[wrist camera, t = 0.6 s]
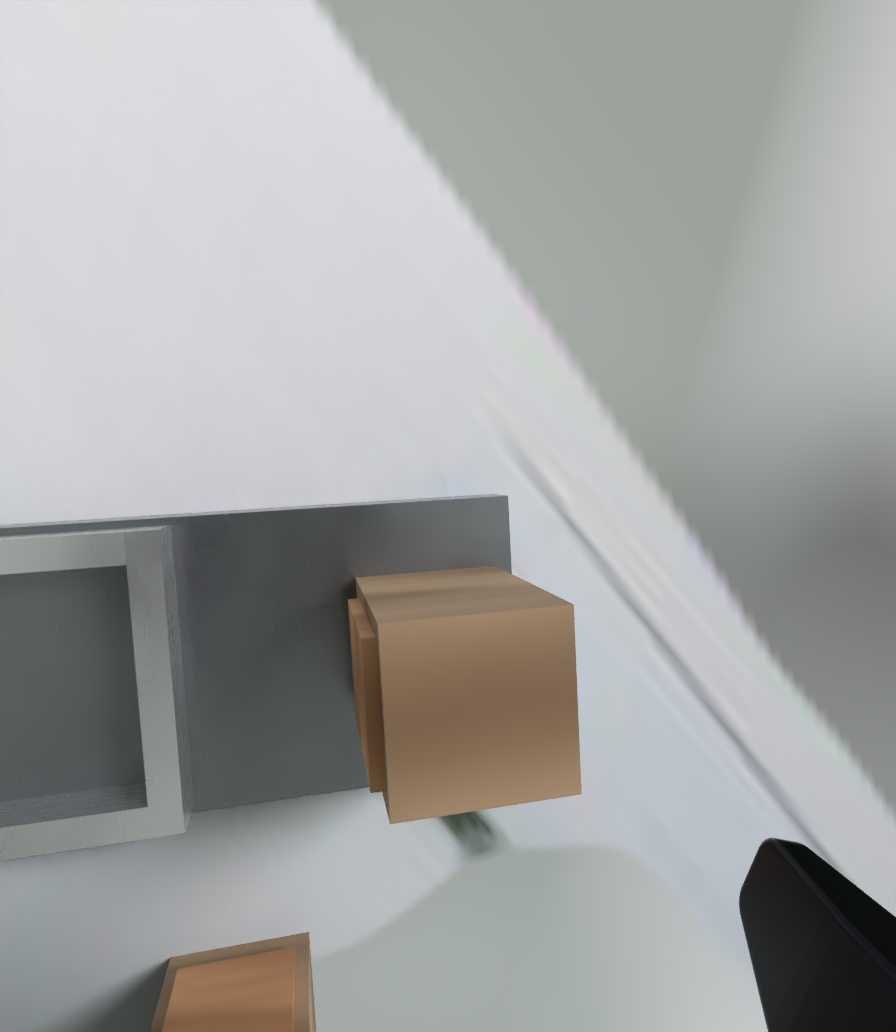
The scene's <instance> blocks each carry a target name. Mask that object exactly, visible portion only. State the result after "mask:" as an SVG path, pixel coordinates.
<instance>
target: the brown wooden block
mask: <svg viewBox="0 0 896 1032" xmlns="http://www.w3.org/2000/svg"><path fill="white" fill-rule="evenodd" d="M356 593H357V599H348V611H349V627H350V642H351V658H352V673H353V688H354V704H355V718H356V723H357V728H358V733H359V738H360V743H361V747H362V752H363V757H364V762H365V767H366V772H367V777H368V782H369V786H370V791H371V793H374V792H380V791H382V792H383V797H384V801H385V805H386V809H387V813H388V817H389V821H390V824H394V823H401V822H407V821H414V820H420V819H426V818H433V817H439V816H445V815H452V814H458V813H465V812H471V811H477V810H484V809H490V808H496V807H503V806H509V805H516V804H522V803H528V802H535V801H541V800H547V799H554V798H560V797H567V796H573V795H579V794H581V774H580V749H579V725H578V701H577V676H576V652H575V627H574V605H573V604H571V603H569V602H567V601H565V600H563V599H561V598H559V597H557V596H555V595H553V594H551V593H549V592H547V591H545V590H543V589H541V588H539V587H537V586H535V585H533V584H531V583H528V582H526V581H524V580H522V579H520V578H518V577H516V576H514V575H512V574H510V573H508V572H506V571H504V570H502V569H500V568H498V567H496V566H487V567H475V568H464V569H452V570H440V571H428V572H416V573H405V574H393V575H381V576H369V577H357V578H356Z"/></svg>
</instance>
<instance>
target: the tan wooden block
mask: <svg viewBox="0 0 896 1032" xmlns="http://www.w3.org/2000/svg"><path fill="white" fill-rule="evenodd" d="M314 1010H315V1009H314V995H313V981H312V968H311V954H310V940H309V932H307V933H302V934H296V935H291V936H285V937H280V938H275V939H269V940H264V941H258V942H253V943H247V944H242V945H236V946H231V947H226V948H220V949H215V950H209V951H204V952H198V953H193V954H187V955H182V956H177V957H171V958H170V961H169V964H168V968H167V971H166V975H165V979H164V982H163V986H162V989H161V993H160V997H159V1000H158V1004H157V1007H156V1011H155V1014H154V1018H153V1022H152V1025H151V1029H150V1032H316V1025H315V1024H316V1023H315V1011H314Z"/></svg>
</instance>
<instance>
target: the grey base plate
mask: <svg viewBox="0 0 896 1032" xmlns="http://www.w3.org/2000/svg"><path fill="white" fill-rule="evenodd" d="M487 566H496V567H498V568H500V569H502V570H504V571H506V572H508V573H510V574H512V572H511V551H510V530H509V509H508V496H506V495H497V494H489V495H473V496H457V497H442V498H426V499H410V500H394V501H378V502H363V503H347V504H331V505H315V506H299V507H283V508H268V509H252V510H236V511H220V512H204V513H188V514H173V515H157V516H141V517H125V518H109V519H94V520H78V521H62V522H46V523H30V524H14V525H0V861H4V860H11V859H17V858H24V857H31V856H37V855H44V854H51V853H57V852H64V851H71V850H77V849H84V848H91V847H97V846H104V845H110V844H117V843H124V842H130V841H137V840H144V839H150V838H157V837H164V836H170V835H177V834H184V833H185V831H186V828H187V825H188V822H189V819H190V816H191V813H192V812H199V811H206V810H213V809H220V808H227V807H233V806H240V805H247V804H254V803H261V802H268V801H275V800H282V799H289V798H295V797H302V796H309V795H316V794H323V793H330V792H337V791H344V790H351V789H357V788H364V787H370V786H369V782H368V777H367V772H366V767H365V762H364V757H363V752H362V747H361V743H360V738H359V733H358V728H357V723H356V718H355V704H354V688H353V673H352V658H351V642H350V627H349V611H348V599H357V593H356V578H357V577H369V576H381V575H393V574H405V573H416V572H428V571H440V570H452V569H464V568H475V567H487Z"/></svg>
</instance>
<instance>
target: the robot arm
mask: <svg viewBox="0 0 896 1032" xmlns="http://www.w3.org/2000/svg"><path fill="white" fill-rule="evenodd" d="M739 908H740V915H741V919H742V923H743V928H744V932H745V936H746V940H747V944H748V949H749V953H750V957H751V961H752V966H753V970H754V974H755V978H756V982H757V987H758V991H759V995H760V999H761V1003H762V1008H763V1012H764V1016H765V1020H766V1025H767V1029H768V1032H896V917H895V916H893V915H892V914H891V913H890V912H888V911H887V910H886V909H885V908H883V907H882V906H881V905H880V904H878V903H877V902H876V901H874V900H873V899H872V898H871V897H869V896H868V895H867V894H866V893H864V892H863V891H862V890H861V889H859V888H858V887H857V886H856V885H854V884H853V883H852V882H851V881H849V880H848V879H847V878H846V877H844V876H843V875H842V874H841V873H839V872H838V871H837V870H835V869H834V868H833V867H832V866H830V865H829V864H828V863H827V862H825V861H824V860H823V859H822V858H820V857H819V856H818V855H817V854H815V853H814V852H813V851H812V850H810V849H809V848H808V847H806V846H805V845H803V844H801V843H798V842H793V841H788V840H782V839H777V838H768V839H766V840H765V841H763V842H762V843H761V845H760V847H759V849H758V851H757V854H756V856H755V858H754V861H753V863H752V865H751V867H750V870H749V872H748V874H747V877H746V879H745V881H744V883H743V886H742V888H741V892H740V897H739Z"/></svg>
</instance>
